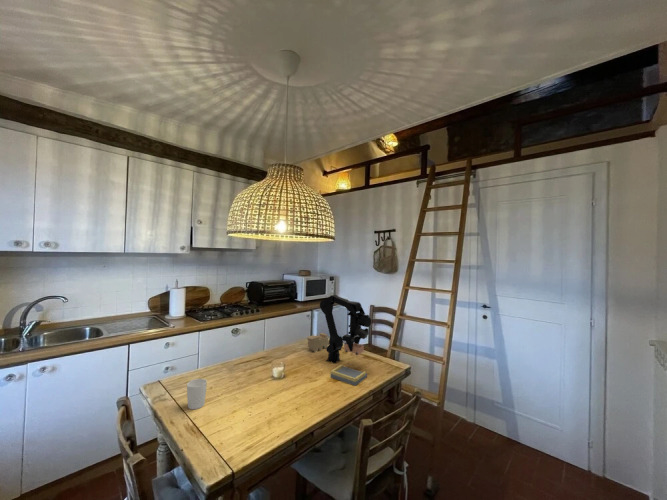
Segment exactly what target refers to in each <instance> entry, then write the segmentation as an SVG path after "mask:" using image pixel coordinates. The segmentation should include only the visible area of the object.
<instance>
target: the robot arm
mask: <svg viewBox="0 0 667 500" xmlns="http://www.w3.org/2000/svg"><path fill="white" fill-rule="evenodd" d="M335 304H337V305H339V306H342V307H344V308H346V310H347V311H348V313H347V316H349V325H348V328H349V331H348V332H347V333H348V334H344V335H343V336H341V335H339V334H338V331H337V326H336V322H335V318H334V315H333V314H334V313H333V310H334V305H335ZM319 307H320V310H321V312H322V313H323V314H324V316H325V321H326V325H327V329H328V333H329V338H328V341H329V345H328V346H327V348H325V350H326V352H327V353H328V355H327V356H328V358H327V359H326V361H327V362H331V363H333V364H335V363H337V362H340V361H341V359H340V351H342V348H343V346H344V342H345V343H347V345H348V347H349V349H350V351H352V349H353V343H356V344H360V342H361V339H362V340H365V339H367V338H368V335H370V331H369V328H370V327H371V324H372V319H371V317H370V315H369V314H366V312H365V310H364V309H363V306H362V304H361V303H360V302H359V301H350V300H348V299H346V298H343V297H341V296H338V295H337V294H333V295H330V296H328V297H327V298H325V299H323V300H321V301H320V303H319ZM362 327H364V328H362Z"/></svg>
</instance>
